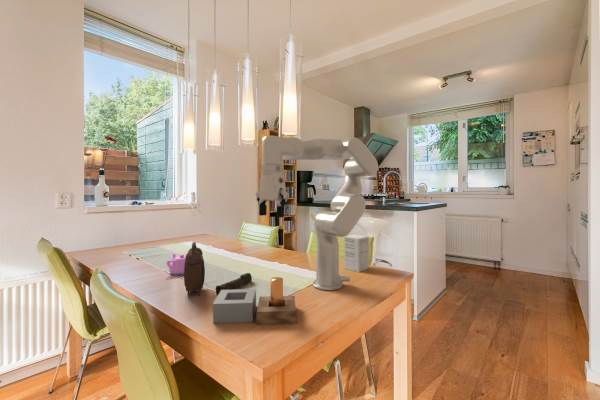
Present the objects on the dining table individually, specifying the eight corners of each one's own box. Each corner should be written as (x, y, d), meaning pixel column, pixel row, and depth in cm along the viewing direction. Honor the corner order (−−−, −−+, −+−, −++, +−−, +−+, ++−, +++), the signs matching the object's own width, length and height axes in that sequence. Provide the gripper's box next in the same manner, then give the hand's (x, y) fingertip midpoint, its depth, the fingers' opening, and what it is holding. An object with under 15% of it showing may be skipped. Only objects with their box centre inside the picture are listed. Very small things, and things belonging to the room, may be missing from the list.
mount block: (294, 307, 98) (294, 295, 98) (296, 323, 86) (296, 310, 86) (259, 308, 97) (259, 296, 97) (256, 324, 85) (256, 311, 85)
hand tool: (221, 297, 108) (221, 285, 108) (215, 294, 110) (215, 283, 110) (256, 283, 123) (256, 273, 123) (249, 281, 126) (249, 271, 125)
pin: (283, 312, 93) (282, 277, 93) (283, 318, 90) (282, 280, 89) (271, 312, 93) (270, 277, 93) (270, 318, 89) (270, 281, 89)
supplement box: (354, 265, 151) (354, 234, 151) (369, 268, 145) (369, 236, 144) (343, 268, 145) (343, 236, 144) (358, 272, 138) (358, 238, 137)
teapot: (172, 269, 145) (172, 252, 144) (200, 268, 146) (199, 251, 146) (163, 276, 133) (163, 257, 133) (193, 275, 134) (193, 257, 134)
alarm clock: (204, 297, 106) (203, 245, 106) (183, 299, 104) (182, 246, 103) (205, 285, 120) (205, 238, 120) (187, 286, 118) (186, 239, 117)
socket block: (256, 305, 99) (255, 289, 99) (252, 321, 87) (252, 302, 87) (221, 306, 98) (221, 289, 98) (213, 323, 86) (212, 303, 86)
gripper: (296, 169, 101) (295, 217, 101) (264, 171, 112) (263, 214, 113) (281, 168, 95) (280, 218, 96) (249, 170, 107) (248, 215, 107)
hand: (271, 216), depth 104 cm, fingers open, 9 cm apart
